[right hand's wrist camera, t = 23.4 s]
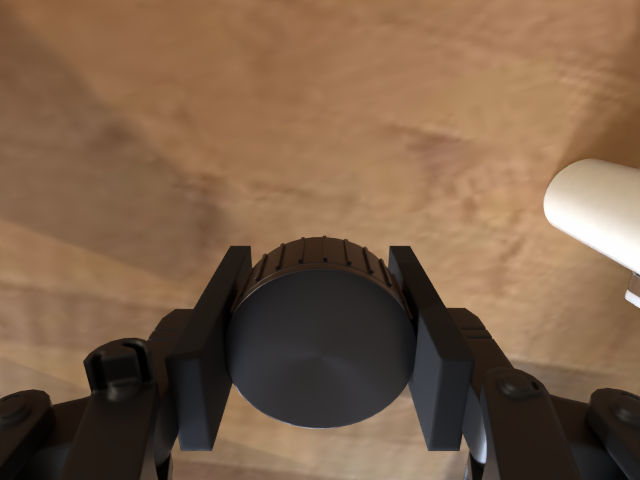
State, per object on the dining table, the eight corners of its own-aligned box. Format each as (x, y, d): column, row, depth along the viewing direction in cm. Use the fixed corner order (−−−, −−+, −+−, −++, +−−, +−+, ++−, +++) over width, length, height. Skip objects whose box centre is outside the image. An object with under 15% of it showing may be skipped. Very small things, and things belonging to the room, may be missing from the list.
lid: (240, 375, 13) (224, 427, 11) (234, 230, 12) (215, 261, 9) (393, 381, 14) (406, 434, 11) (413, 238, 12) (434, 270, 9)
